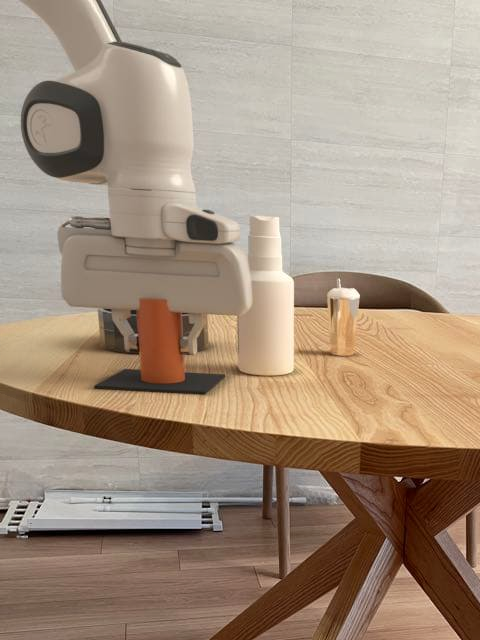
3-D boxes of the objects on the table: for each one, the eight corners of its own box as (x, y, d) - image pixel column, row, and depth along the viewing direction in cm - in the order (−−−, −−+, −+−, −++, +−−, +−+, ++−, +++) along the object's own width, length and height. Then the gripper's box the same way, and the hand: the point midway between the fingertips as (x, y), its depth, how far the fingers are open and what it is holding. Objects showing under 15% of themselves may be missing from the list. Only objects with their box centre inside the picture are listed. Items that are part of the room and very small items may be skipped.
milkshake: (351, 350, 121) (353, 279, 117) (361, 356, 116) (364, 283, 112) (321, 350, 119) (322, 278, 116) (330, 356, 115) (331, 282, 111)
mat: (94, 388, 89) (94, 385, 89) (124, 371, 98) (124, 368, 98) (205, 394, 89) (205, 391, 89) (225, 376, 98) (225, 374, 98)
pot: (85, 351, 109) (81, 312, 107) (121, 335, 122) (118, 300, 121) (193, 357, 109) (192, 318, 107) (218, 341, 123) (217, 306, 121)
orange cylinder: (135, 382, 91) (129, 298, 88) (148, 374, 96) (143, 294, 92) (178, 384, 91) (174, 300, 88) (189, 376, 96) (186, 296, 92)
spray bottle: (292, 366, 107) (292, 217, 100) (295, 376, 100) (295, 218, 94) (238, 365, 105) (235, 214, 99) (238, 375, 99) (234, 215, 92)
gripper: (43, 215, 84) (57, 352, 89) (243, 226, 84) (245, 362, 89) (67, 214, 90) (79, 343, 95) (254, 225, 90) (256, 353, 95)
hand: (161, 352), depth 92 cm, fingers closed on orange cylinder, 5 cm apart
